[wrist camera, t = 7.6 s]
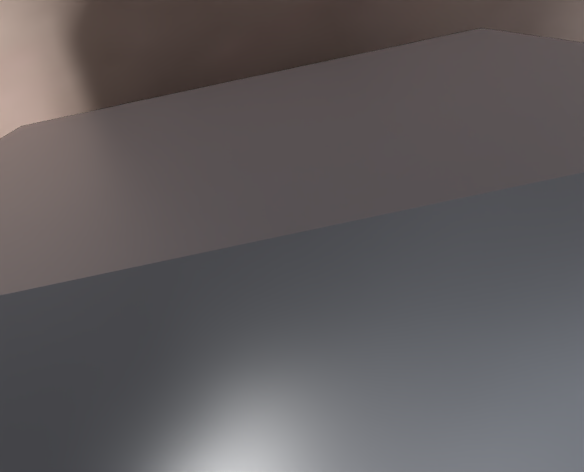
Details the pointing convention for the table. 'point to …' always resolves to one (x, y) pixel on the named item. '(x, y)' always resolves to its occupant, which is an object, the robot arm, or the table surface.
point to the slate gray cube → (305, 270)
